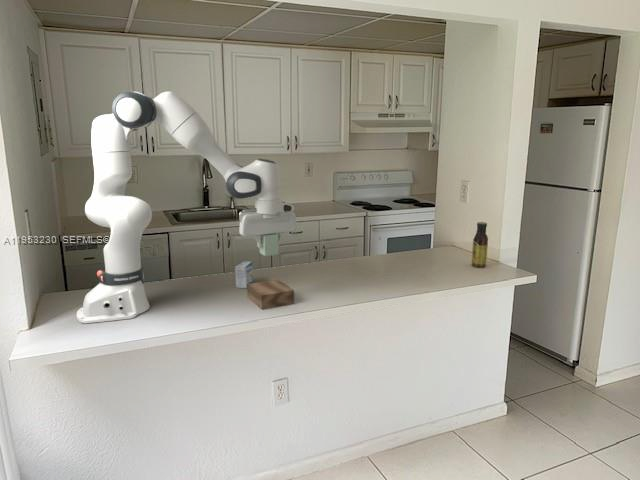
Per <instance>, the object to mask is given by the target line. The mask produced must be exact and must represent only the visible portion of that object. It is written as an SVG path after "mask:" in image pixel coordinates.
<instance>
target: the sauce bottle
mask: <svg viewBox="0 0 640 480" xmlns="http://www.w3.org/2000/svg"><path fill="white" fill-rule="evenodd" d="M476 226H477V228H476V233H475V235H474V238H473V239H472V240H473V241H472V251H471V266H473V267H474V268H485V267H486V266H487V265H486V264H487V259H488V258H487V257H488V256H487V255H488V246H489V245H488V244H489V243H488V242H489V237H488V235H487V227H488V223H487V222H484V221H482V222H481V221H479V222H477V223H476Z"/></svg>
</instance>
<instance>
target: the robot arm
mask: <svg viewBox="0 0 640 480" xmlns="http://www.w3.org/2000/svg"><path fill="white" fill-rule="evenodd" d="M111 111H112V113H110V114H102V115H99V116H97V117H95V118H94V119H93V121H92V123H91V138H90V139H91V141H90V142H91V151H92V152H91V154H92V162H93V164H92V165H93V171H94V173H93V174H94V180H93V187H92V192H91V196H90V197H89V198H88V200H86V202H85V206H84V213H85V216H86V218H87V219H88V220H89V221H91V222H93V223H94V224H96V225H97V226H100V227H104V228H108V229H109V228H110V234H109V235H110V236H109V240H108V242H107V243H106V244H105V245H104V247H103V250H102V251H103V259H104V261H103V262H104V268H105V270H98V271H97V272H96V275H97V278H99V283H98V284H97V285H96V286H94V287H93V288H92V289H91V290H89V291H88V292H87V293H86V295H85V296H84V299H83V304H82V307H80V308H79V309H78V310H77V312H76V319H77V321H78V322H79V323H82V324H92V323H103V322H111V321H119V320H130V319H134V318H135V317H138V315H139V314H142V313H144V312H147V311H148V310H149V309H150V306H151V305H150V303H149V300H148V298H147V295H146V291H145V285H144V284H145V276H144V270H143V267H142V261H141V240H142V236H143V233H144V231H145V229H146V228H148V226H149V225H150V223H151V222H152V217H153V211H152V208H151V205H150V204H149V203H148V202H146V201H145V200H143V199H141V198H139V197H136V196H130V195H126V187H127V183H128V182H129V180H130V179H132V176H133V165H132V157H131V155H132V154H131V145H130V135H131V134H132V132H134V131H138V130H141V129H144V128H147V127H149V126H150V125H152V124H153V123H154V124H157V125H159V126H161V127H162V128H163V129H164V130H165V131H166V132H167V133H168V134H169V135H170V136H171V137H172V138H173V139H174V140H175V141H176V142H177V143H178V144H180V145H181V146H183V148H185V149H186V150H188V151H190V152H193V153H196V154H198V155H200V156H201V157H203V158H204V159H206V160H207V161H208V162H209V164H211V165H212V167H213V168H215V170H217V171H218V172H219V173H220V175H221V176H222V177H223V179H224V181H225V184H226V185H225V186H226V190H227V192H228V194H229V195H231V196H232V197H233V198H236V199H238V200H239V199H240V200H244V199H247V198H252V197H254V207H252V208H243V209H242V210H241V211H240V212H239V213H238V221H239V228H238V230H239V235H241V236H242V237H243V238H244V237H245V238H247V237H253V239H254V240H255V242H256V245H257V248H259V249H260V248H262V247H263V242H260V241H259V238H260V235H266V234H275V233H276V234H278V247H279V246H281V240H282V238H283V236H284V233H291V232H295V231H296V230H297V228H298V227H297V226H298V225H297V217H296V214H295V212H294V210H295V206H294V205H292V204H291V203H287V202H285V201H282V197H281V194H280V188H281V175H280V166H279V164H277V163H276V162H275V161H273V160H270V159H264V158H256V159H255V160H254V161H253V162H251V163H249V164H248V165H245V166H242V165H239V164H238V163H237V162H235V161H234V160H233V159H232V158H231V157H230V156H229V155H228V154H227V152H226V151H225V150H224V149H223V148H222V147H221V146H220V145H219V143H218V142H217V140H216V139H215V137H214V135H213V133H212V131H211V129H210V127H209V126H208V124H207V123H206V121H204V119H203V118H202V116H201V115H200V114H199V113H198V112H197V111H196V110H195V109H194V107H192V106H191V105H190V104H189V103H188V102H187V101H186V100H185V99H184V98H182V97H181V96H179V94H177V93H175V92H173V91H169V90H167V91H164V92H161V93H159V94H158V95H157V96H156V97H154V98H152V97H150V96H146V94H143V93H141V92H139V91H124V92H122V93H119V94H118V95H117V96H116V97H115V98H114V99H113V102H112V105H111Z"/></svg>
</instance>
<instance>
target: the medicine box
mask: <svg viewBox="0 0 640 480" xmlns="http://www.w3.org/2000/svg"><path fill="white" fill-rule="evenodd" d="M253 266H254V265H253V261H247V260H245V261H241V262H240V263H239V264H237V265H236V266H235V267H234V272H235V287H236V288H237V289H247V284H252V283H254V268H253Z"/></svg>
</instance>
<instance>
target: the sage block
mask: <svg viewBox="0 0 640 480" xmlns="http://www.w3.org/2000/svg"><path fill="white" fill-rule="evenodd" d="M258 239H259V241H260V242H263V247H262V248H259V254H260V255H262V256H265V257H269V256H275V255H276V256H277V255H279V246H278V234H277V233H275V234H266V235H260V238H258Z"/></svg>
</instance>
